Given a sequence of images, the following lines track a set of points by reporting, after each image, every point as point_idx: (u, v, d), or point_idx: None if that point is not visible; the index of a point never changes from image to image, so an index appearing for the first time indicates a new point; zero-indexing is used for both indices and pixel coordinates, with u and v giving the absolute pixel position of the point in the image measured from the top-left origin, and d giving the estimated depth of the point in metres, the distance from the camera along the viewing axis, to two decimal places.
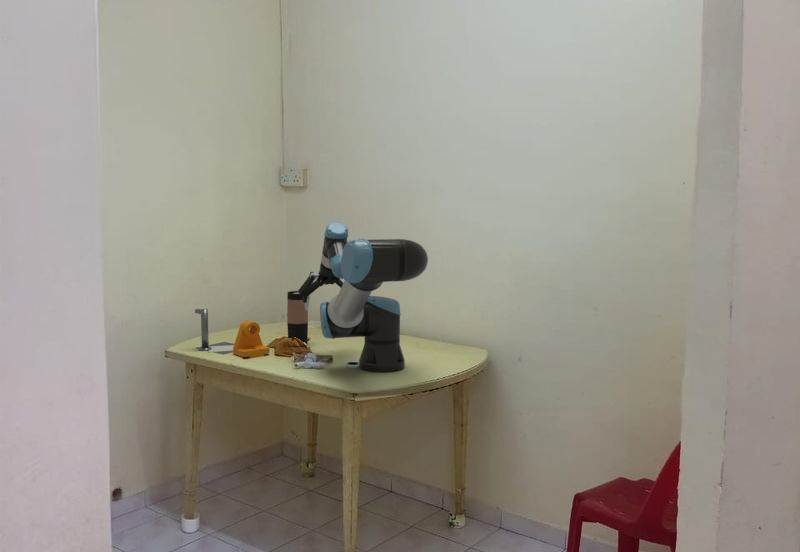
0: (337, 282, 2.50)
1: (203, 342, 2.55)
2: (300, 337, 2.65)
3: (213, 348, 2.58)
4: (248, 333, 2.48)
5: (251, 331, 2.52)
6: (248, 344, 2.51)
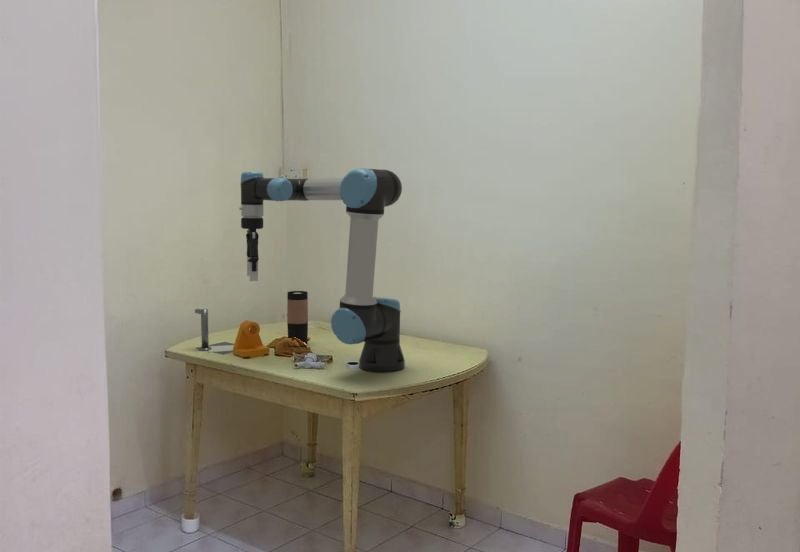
0: None
1: (203, 342, 2.55)
2: (300, 337, 2.65)
3: (213, 348, 2.58)
4: (248, 333, 2.48)
5: (251, 331, 2.52)
6: (248, 344, 2.51)
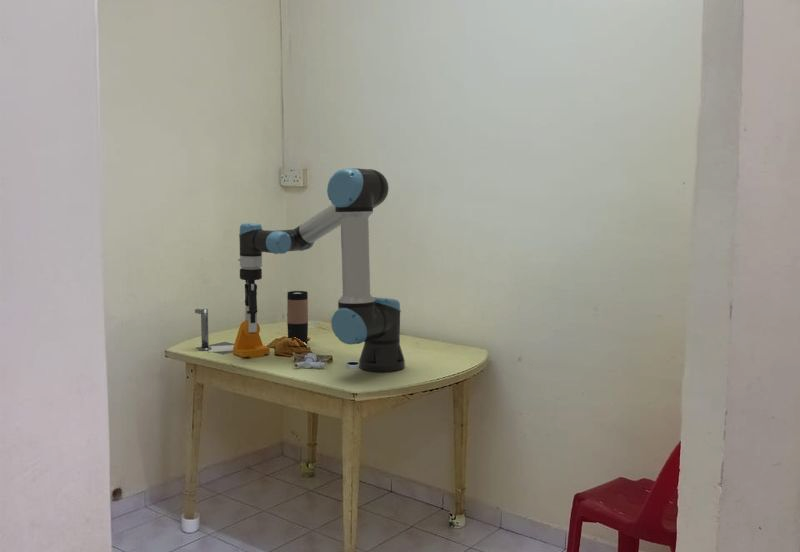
0: None
1: (203, 342, 2.55)
2: (300, 337, 2.65)
3: (213, 348, 2.58)
4: (248, 333, 2.48)
5: None
6: (248, 344, 2.51)
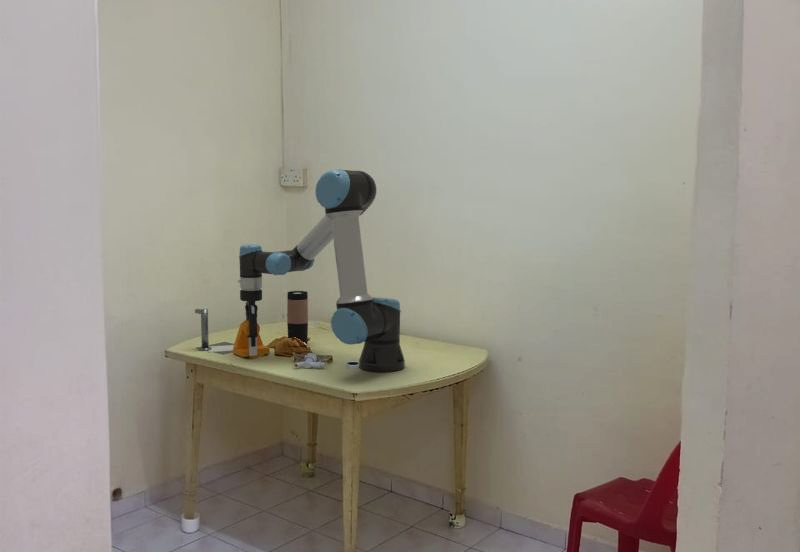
0: None
1: (203, 342, 2.55)
2: (300, 337, 2.65)
3: (213, 348, 2.58)
4: (248, 333, 2.48)
5: None
6: (248, 343, 2.51)
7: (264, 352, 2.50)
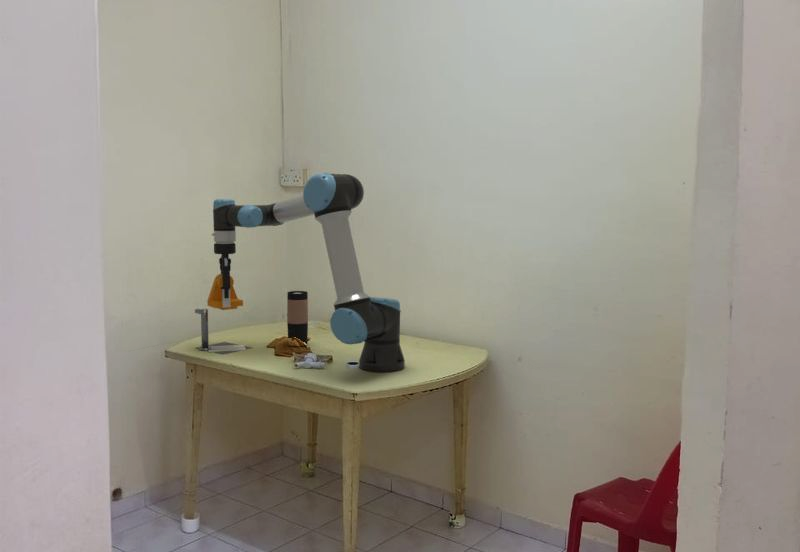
0: None
1: (203, 342, 2.55)
2: (300, 337, 2.65)
3: (213, 348, 2.58)
4: (221, 285, 2.54)
5: None
6: None
7: (237, 305, 2.56)
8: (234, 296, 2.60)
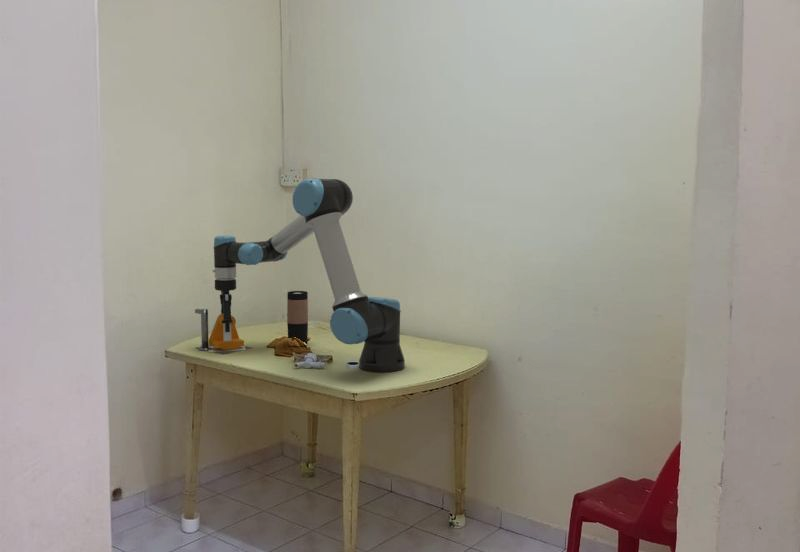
0: None
1: (203, 342, 2.55)
2: (300, 337, 2.65)
3: (213, 348, 2.58)
4: None
5: None
6: None
7: (238, 345, 2.58)
8: (236, 336, 2.62)
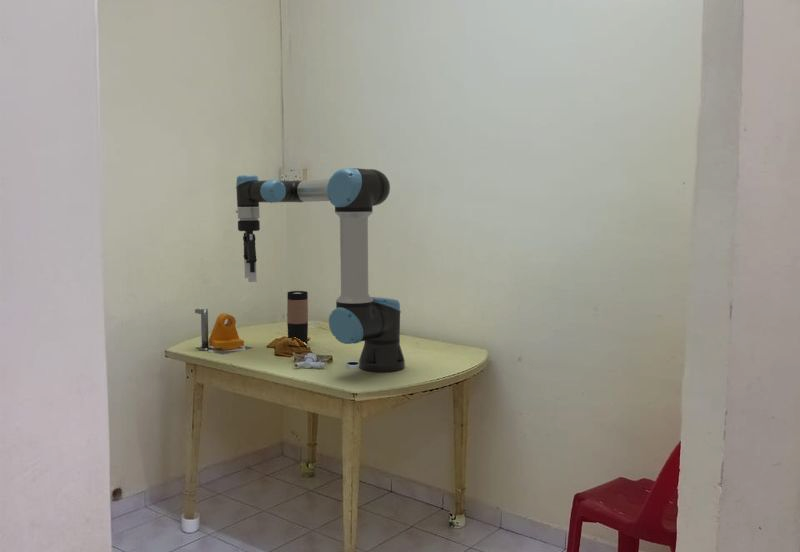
0: None
1: (203, 342, 2.55)
2: (300, 337, 2.65)
3: (213, 348, 2.58)
4: (223, 325, 2.56)
5: (228, 324, 2.60)
6: (223, 336, 2.59)
7: (238, 345, 2.58)
8: (236, 336, 2.62)
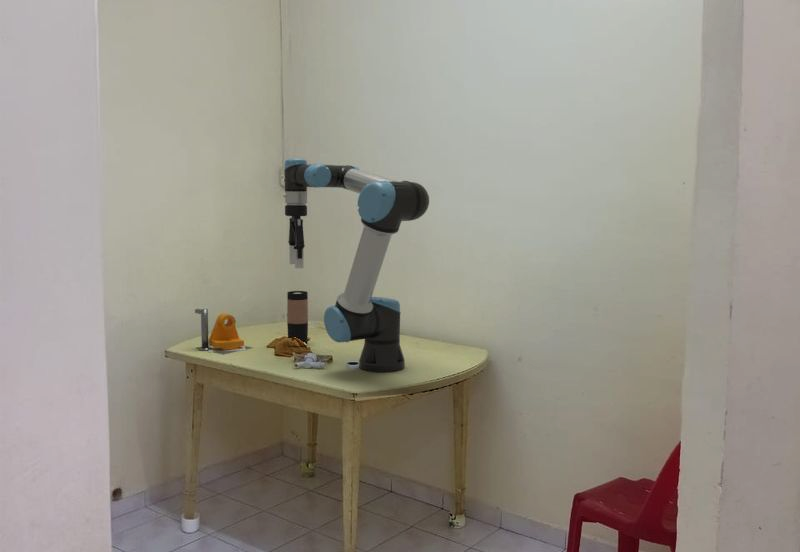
0: None
1: (203, 342, 2.55)
2: (300, 337, 2.65)
3: (213, 348, 2.58)
4: (223, 325, 2.56)
5: (228, 324, 2.60)
6: (223, 336, 2.59)
7: (238, 345, 2.58)
8: (236, 336, 2.62)
